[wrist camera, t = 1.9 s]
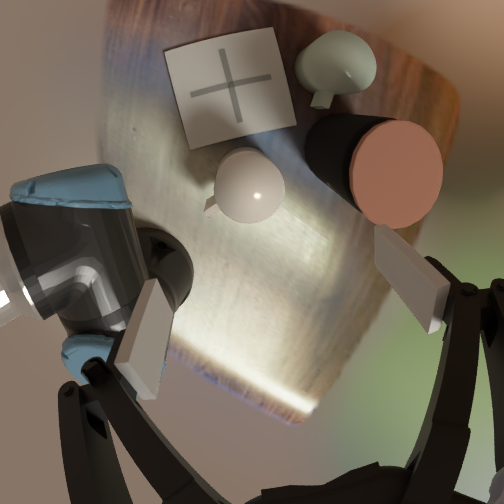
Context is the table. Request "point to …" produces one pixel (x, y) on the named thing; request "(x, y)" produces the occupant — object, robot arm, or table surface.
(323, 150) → the coffee jar
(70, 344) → the robot arm
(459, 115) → the table surface
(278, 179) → the mug cream
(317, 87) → the mug sage
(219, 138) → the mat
